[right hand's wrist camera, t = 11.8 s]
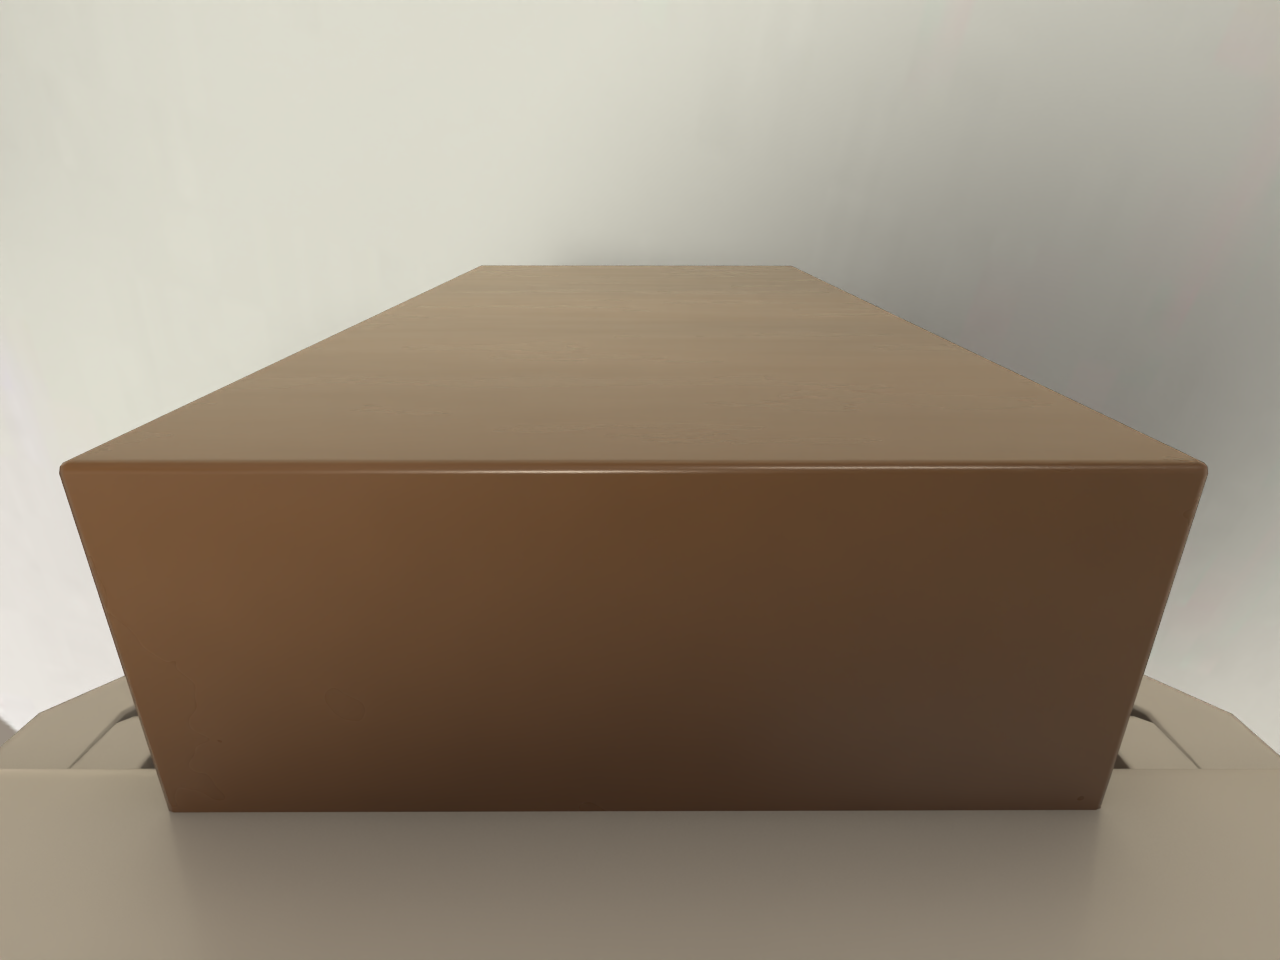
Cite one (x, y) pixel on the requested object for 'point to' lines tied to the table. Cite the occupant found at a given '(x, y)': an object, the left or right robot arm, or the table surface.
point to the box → (633, 560)
